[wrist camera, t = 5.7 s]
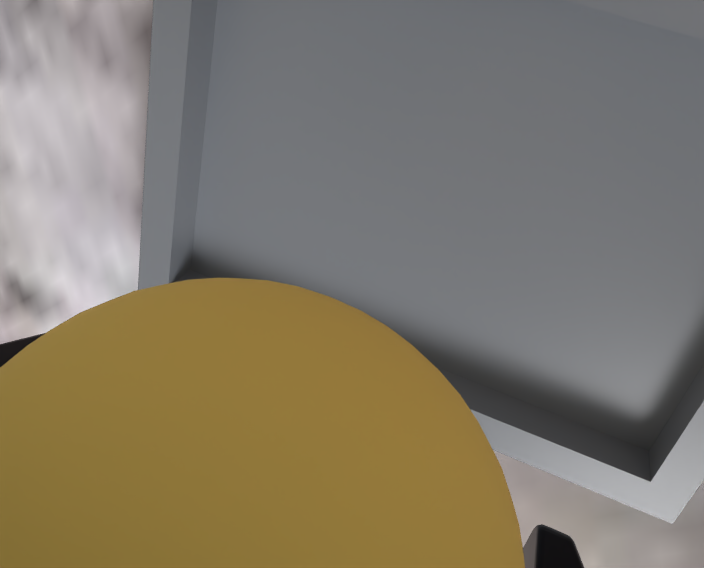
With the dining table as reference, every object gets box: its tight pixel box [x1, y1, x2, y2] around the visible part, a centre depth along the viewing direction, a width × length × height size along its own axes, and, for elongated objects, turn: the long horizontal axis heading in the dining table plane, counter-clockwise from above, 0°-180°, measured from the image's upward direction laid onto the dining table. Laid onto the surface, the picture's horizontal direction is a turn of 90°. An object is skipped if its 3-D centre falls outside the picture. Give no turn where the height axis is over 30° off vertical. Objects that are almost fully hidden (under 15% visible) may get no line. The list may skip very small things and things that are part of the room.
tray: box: [138, 0, 704, 524], centre depth 16 cm, size 16×12×2 cm
